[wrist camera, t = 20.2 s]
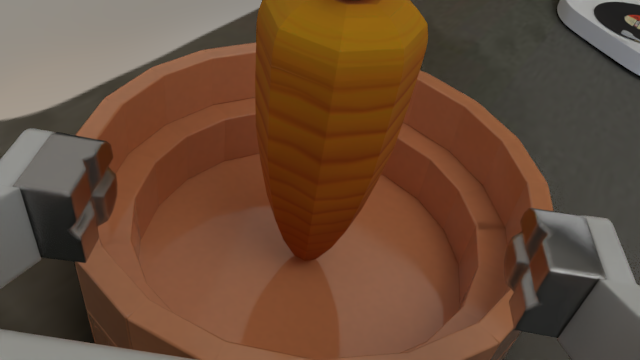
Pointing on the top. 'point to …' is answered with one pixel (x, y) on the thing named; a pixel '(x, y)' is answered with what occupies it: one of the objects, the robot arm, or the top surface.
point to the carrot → (330, 107)
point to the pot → (267, 242)
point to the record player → (607, 27)
